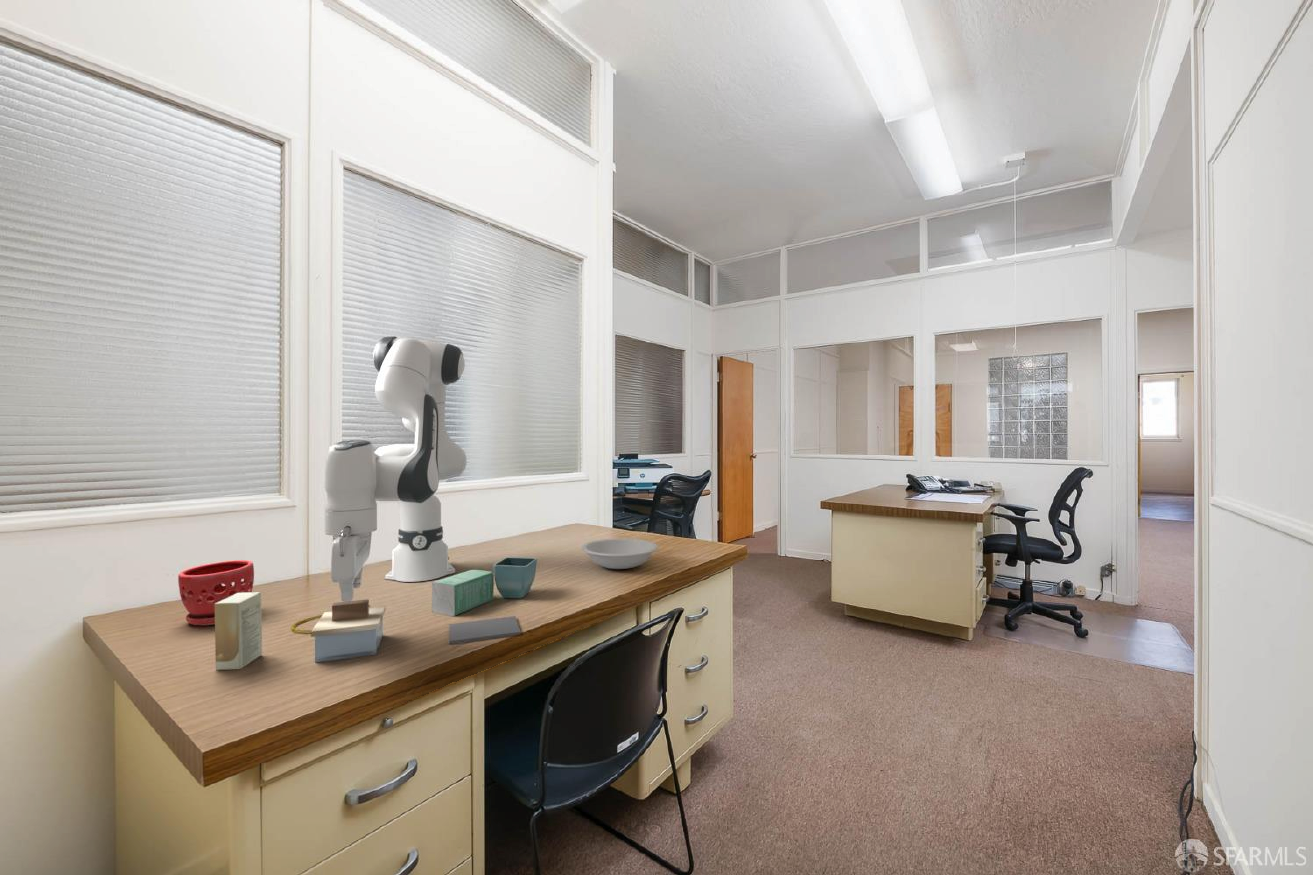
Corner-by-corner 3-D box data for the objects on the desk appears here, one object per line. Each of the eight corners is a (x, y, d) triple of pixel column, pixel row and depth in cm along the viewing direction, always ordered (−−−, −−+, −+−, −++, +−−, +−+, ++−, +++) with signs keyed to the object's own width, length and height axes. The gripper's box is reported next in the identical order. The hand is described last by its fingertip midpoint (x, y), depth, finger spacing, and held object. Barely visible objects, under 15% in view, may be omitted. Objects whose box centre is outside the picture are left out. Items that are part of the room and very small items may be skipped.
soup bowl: (628, 582, 148) (628, 558, 148) (565, 569, 161) (565, 548, 161) (672, 564, 168) (672, 543, 168) (613, 554, 181) (613, 535, 181)
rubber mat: (449, 626, 114) (449, 624, 114) (515, 618, 119) (515, 615, 119) (449, 644, 104) (449, 641, 104) (520, 634, 110) (520, 631, 110)
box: (494, 599, 132) (494, 570, 132) (455, 617, 120) (454, 585, 120) (472, 596, 135) (471, 567, 135) (431, 613, 123) (430, 581, 123)
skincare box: (239, 655, 99) (238, 591, 99) (263, 654, 99) (262, 591, 99) (213, 671, 93) (212, 602, 92) (239, 670, 93) (238, 602, 93)
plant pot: (235, 605, 127) (235, 557, 127) (266, 614, 121) (265, 563, 121) (166, 623, 115) (166, 569, 115) (197, 634, 109) (196, 577, 109)
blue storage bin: (327, 642, 105) (327, 617, 105) (382, 635, 109) (382, 611, 109) (314, 662, 96) (314, 635, 96) (376, 654, 100) (375, 628, 100)
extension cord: (371, 628, 114) (371, 619, 114) (285, 640, 108) (285, 630, 108) (376, 610, 125) (376, 602, 125) (298, 620, 119) (298, 611, 119)
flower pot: (537, 591, 139) (537, 557, 139) (526, 601, 131) (526, 566, 131) (506, 590, 140) (505, 556, 140) (492, 600, 132) (492, 565, 131)
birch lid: (324, 616, 106) (324, 597, 106) (385, 610, 110) (385, 591, 110) (310, 636, 95) (310, 615, 95) (378, 628, 99) (378, 607, 99)
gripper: (361, 530, 94) (362, 607, 94) (376, 515, 113) (376, 579, 113) (320, 533, 91) (321, 611, 91) (342, 516, 110) (343, 582, 110)
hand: (351, 593), depth 102 cm, fingers open, 8 cm apart
